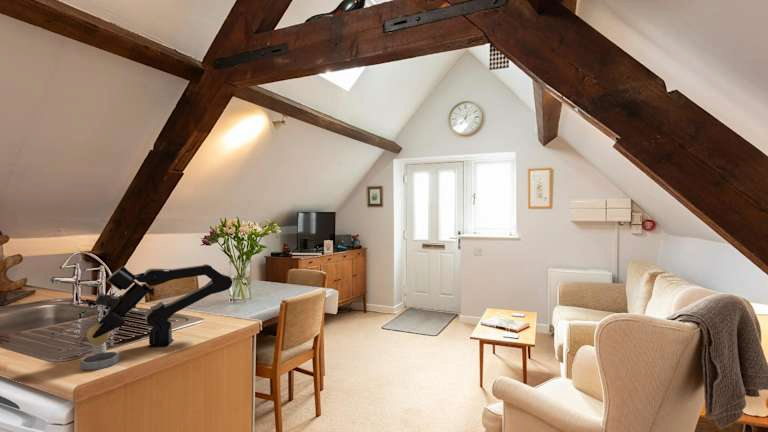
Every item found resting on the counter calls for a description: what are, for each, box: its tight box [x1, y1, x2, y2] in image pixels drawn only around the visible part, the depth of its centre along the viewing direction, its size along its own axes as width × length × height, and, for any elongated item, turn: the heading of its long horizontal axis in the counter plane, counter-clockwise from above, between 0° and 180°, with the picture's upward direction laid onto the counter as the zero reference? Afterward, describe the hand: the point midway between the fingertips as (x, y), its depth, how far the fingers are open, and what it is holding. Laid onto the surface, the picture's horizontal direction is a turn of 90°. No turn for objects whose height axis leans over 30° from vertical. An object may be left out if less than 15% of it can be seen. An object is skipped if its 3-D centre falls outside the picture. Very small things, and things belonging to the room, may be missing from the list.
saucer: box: [79, 351, 120, 371], centre depth 124 cm, size 10×10×2 cm
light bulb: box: [86, 323, 111, 355], centre depth 131 cm, size 6×6×10 cm
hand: (93, 335), depth 130 cm, fingers closed on light bulb, 6 cm apart
